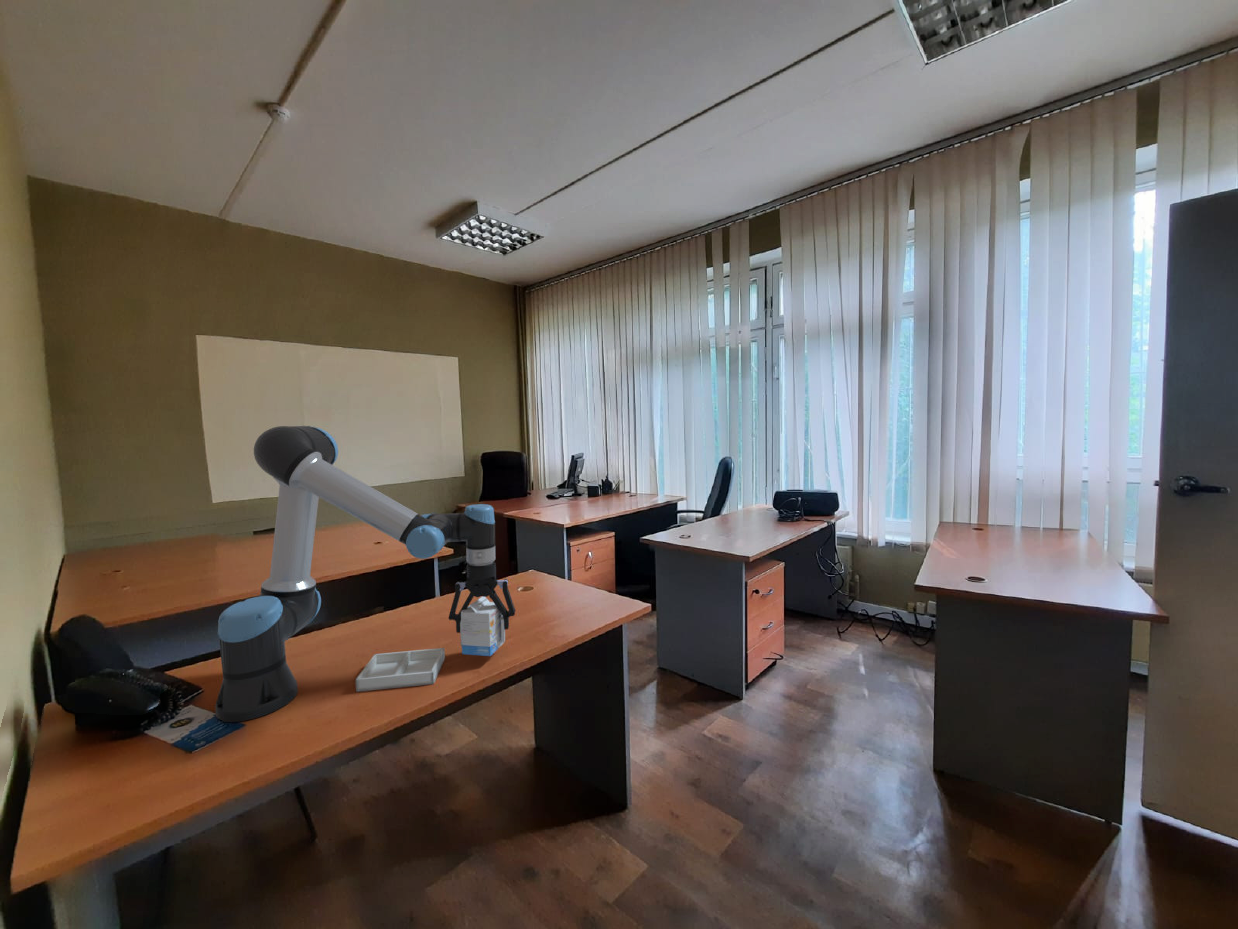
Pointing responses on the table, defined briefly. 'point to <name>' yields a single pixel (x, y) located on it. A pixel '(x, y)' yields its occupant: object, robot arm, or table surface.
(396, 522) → the robot arm
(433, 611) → the table surface
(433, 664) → the caddy
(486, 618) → the ink box
